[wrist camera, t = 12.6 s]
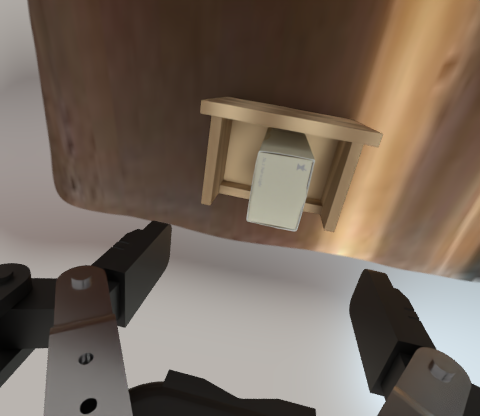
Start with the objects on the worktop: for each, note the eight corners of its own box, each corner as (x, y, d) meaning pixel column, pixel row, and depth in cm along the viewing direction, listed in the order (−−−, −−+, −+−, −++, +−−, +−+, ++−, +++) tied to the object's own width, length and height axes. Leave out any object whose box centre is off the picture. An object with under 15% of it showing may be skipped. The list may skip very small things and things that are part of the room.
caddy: (353, 119, 31) (383, 134, 21) (325, 206, 36) (340, 252, 26) (228, 96, 32) (201, 99, 22) (216, 183, 37) (189, 219, 27)
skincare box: (267, 126, 32) (256, 145, 21) (307, 133, 32) (317, 156, 21) (257, 179, 35) (243, 221, 23) (294, 186, 34) (297, 233, 23)
